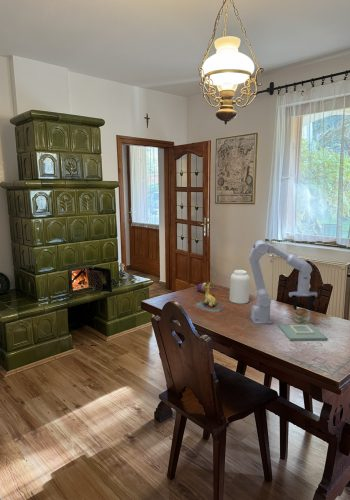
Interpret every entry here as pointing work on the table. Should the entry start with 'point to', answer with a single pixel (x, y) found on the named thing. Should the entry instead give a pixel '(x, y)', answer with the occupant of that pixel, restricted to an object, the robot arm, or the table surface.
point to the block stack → (301, 316)
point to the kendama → (203, 290)
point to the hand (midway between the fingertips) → (301, 309)
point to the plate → (302, 332)
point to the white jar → (239, 287)
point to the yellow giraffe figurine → (209, 299)
